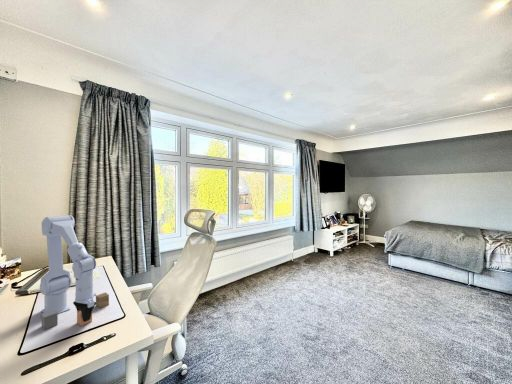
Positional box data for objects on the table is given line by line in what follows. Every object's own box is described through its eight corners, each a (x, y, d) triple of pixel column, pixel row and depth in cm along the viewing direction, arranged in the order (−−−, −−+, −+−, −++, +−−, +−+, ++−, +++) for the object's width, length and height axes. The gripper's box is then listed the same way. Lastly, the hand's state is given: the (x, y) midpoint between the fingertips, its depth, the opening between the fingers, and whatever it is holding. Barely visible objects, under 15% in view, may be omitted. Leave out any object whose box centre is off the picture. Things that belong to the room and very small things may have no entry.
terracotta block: (76, 322, 92) (76, 310, 92) (88, 318, 95) (88, 306, 95) (80, 326, 90) (80, 314, 90) (92, 321, 93) (92, 309, 93)
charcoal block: (41, 326, 90) (41, 314, 89) (54, 321, 93) (54, 309, 93) (44, 329, 87) (44, 317, 87) (57, 324, 91) (57, 312, 91)
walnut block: (95, 305, 105) (95, 295, 105) (105, 302, 109) (105, 292, 108) (99, 308, 103) (99, 298, 103) (108, 304, 106) (108, 294, 106)
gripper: (102, 287, 91) (102, 319, 92) (88, 279, 100) (89, 309, 100) (82, 294, 86) (82, 328, 86) (69, 285, 94) (69, 316, 94)
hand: (84, 318), depth 92 cm, fingers closed on terracotta block, 4 cm apart
